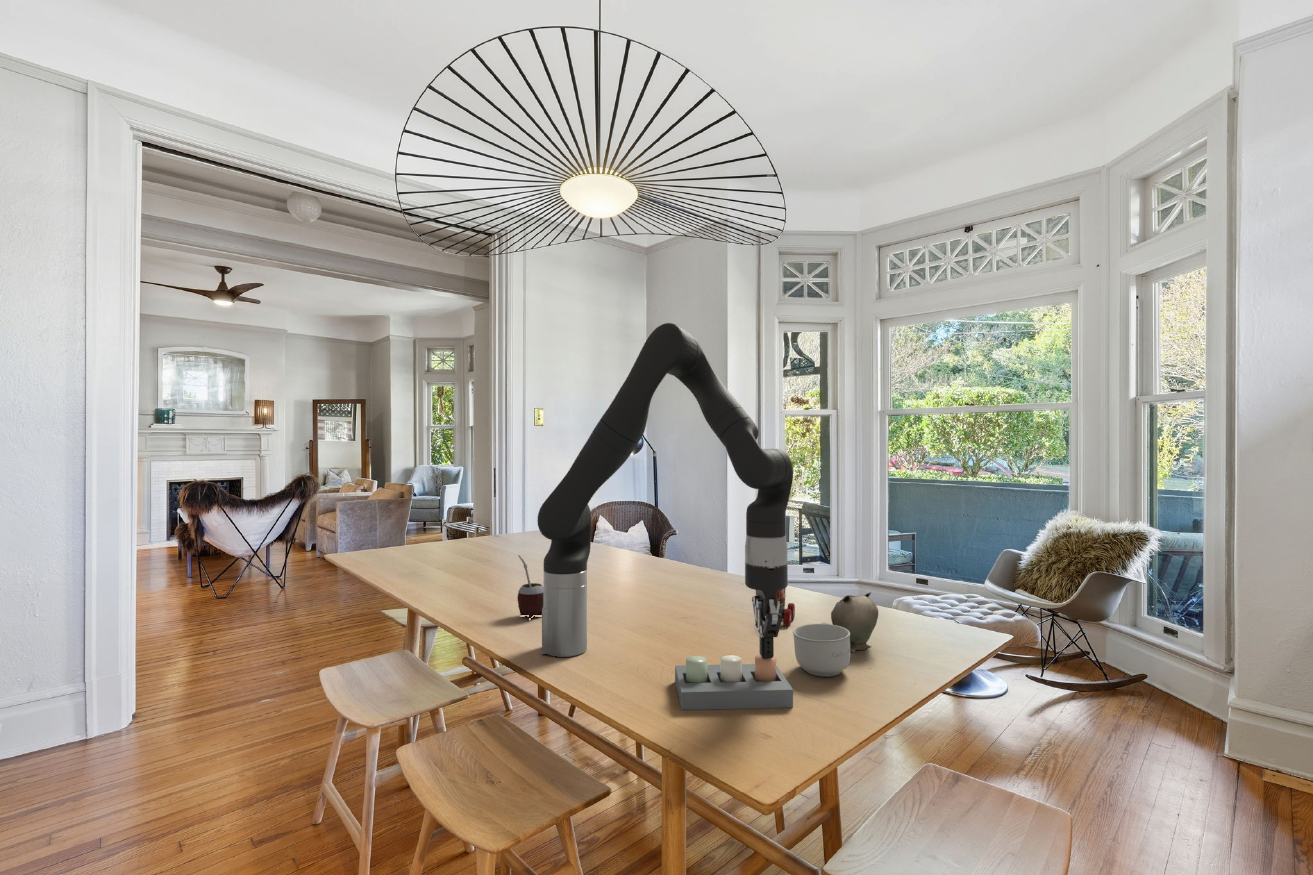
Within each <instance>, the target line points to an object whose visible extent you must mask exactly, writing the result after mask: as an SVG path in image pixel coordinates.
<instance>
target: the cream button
mask: <svg viewBox="0 0 1313 875" xmlns="http://www.w3.org/2000/svg"><path fill="white" fill-rule="evenodd" d="M719 662H720V664H719V665H720V682H742V664H743V659H742V658H741V657H740V656H738V655H731V654H730V655H723V656H721V657H720V661H719Z"/></svg>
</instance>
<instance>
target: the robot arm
mask: <svg viewBox="0 0 1313 875" xmlns="http://www.w3.org/2000/svg"><path fill="white" fill-rule="evenodd" d="M667 374H668V375H670V376H674V377H675V378H676V379H678V380H679V382H681V383H682V384H683V385H684V386H685V387H686V388H687V389H688V390H689V392H691V394H692V395H693V397H694V398H695V399H696V401H697V404H698V405H699V408H700V411H701V413H702V415H703V418H704V420H705V421H706V423H707V425H708V426H709V428H710V429H711V431H712V432H713V433H714V434H715V436H716V437H717V438H718V440H719V441H720V442H721V443H722V445H723V446H724V447H725V449H726V453H727V455H728V459H729V460H730V462H731V465H732V467H733V470H734V472H735V474H736V475H737V477H738V478H739V479H740V481H741V482H742V483H743V484H745V485H746V486H747V487H749V488H750V489H753V490H757V491H758V492H757V494H756V495H757V496H756V499H755V500H753V501H752V502H751V503H750V504H749V505H747V507H746V513H745V518H746V519H745V520H746V521H745V531H746V532H745V535H746V536H745V542H744V543H745V544H744V584H745V586H746V587H747V588H749V589H751V590H754V591H755V595H753V596H752V597H751V601H752V608H753V614H754V621H755V625H754V626H755V627H756V629H757V633H758V637H759V655H761V657H762V658H764V659H766V658H773V656H774V655H775V654H774V653H775V652H774V650H775V649H774V645H775V644H774V638H778V636H779V632H780V630H781V629H780V628H781V625H782V622H783V619H782V614H781V613H778V610H779V609H780V601H779V599H777V591H779V590H783V589H785V590H786V588H787V587H788V583H789V582H788V580H789V579H788V578H789V577H788V576H789V575H788V571H789V570H788V569H789V568H788V561H789V560H788V558H789V556H788V542H787V522H786V521H787V516H786V515H787V513H786V511H787V507H788V504H789V501H790V497H791V491H792V487H793V481H794V468H793V463H792V459H791V458H790V456H789V455H788V454H787V453H786V452H785V451H784V450H782V449H779V448H762V447H761V445H760V444H759V443H758V441H757V440H758V438H759V436H760V433H759V428H758V426H757V425H756V423H755V422H754V420H753V419H752V418H751V416H750V415H749V414H748V413H747V412H746V410H745V409H744V408H743V406H742V405H741V404H740V403H739V402H738V401H737V400H736V398H735V397H734V396H733V395H732V394H731V392H730V391H729V390H728V388H727V387H726V385H725V384H724V383H723V382H722V380H721V379H720V378H719V376H718V374H717V373H716V372H715V370H714V368H713V366H712V364H711V363H710V361H709V359H708V357H707V355H706V353H705V351H704V350H703V347H702V346H701V344H700V342H699V340H698V339H697V338H696V337H695V336H694V335H692V334H691V333H690V332H688V331H686V330H685V329H684V328H682V327H680V326H679V325H678V324H675V323H672V322H666V323H663V324H660V325H659V326H657V327H656V328H654V330H653V331H652V332H651V333H650V334H649V336H648V337H647V339H646V341H645V342H644V343H643V346H642V347H641V349H640V351H639V354H638V356H637V357H636V359H635V362H634V364H633V365H632V367H631V369H630V371H629V374H628V376H627V377H626V378H625V380H624V382H623V383H622V385H621V386H620V389H619V390H618V391H617V393H616V395H615V396H614V398H613V400H612V401H611V403H610V404H609V406H608V408H607V409H606V410H605V412H604V413H603V415H602V416H601V418H600V419H599V420H598V422H597V423H596V425H595V426H594V428H593V430H592V432H591V433H590V435H589V437H588V438H587V440H586V442H585V443H584V445H583V447H582V448H581V449H580V451H579V452H578V455H577V456H576V457H575V459H574V461H573V463H572V464H571V466H570V468H569V470H568V471H567V473H566V474H565V476H564V477H563V478H562V479H561V480H560V482H558V484H557V486H556V487H555V488H554V490H552V492H550V494H549V495H548V497H546V499H545V500H544V502H543V503H542V505H541V507H540V508H539V510H538V513H537V520H536V521H537V526H538V530H539V532H540V533H541V535H542V536H543V537H545V538H546V539H548V540H551V541H550V546H549V549H548V551H547V553H546V554H545V556H544V558H543V587H544V607H543V609H542V618H541V655H542V654H549V655H548V656H550V655H551V657H555V656H557V658H566V657H567V658H568V657H575V656H578V655H581V654H583V653H585V652H586V651H587V650H586V649H588V561H589V560H588V559H589V557H590V553H591V545H592V544H591V540H592V513H591V509H590V506H589V503H590V501H591V499H592V498H593V497H594V495H595V494H596V493H597V491H598V490H599V489H600V488H601V487H602V486H603V485H604V484H605V483H606V482H607V481H608V480H609V479H610V478H611V477H613V475H615V473H616V472H617V471H618V470H619V469H621V467H622V466H623V465H624V464H625V463H626V462H627V460H628V459H629V457H630V456H631V455H632V453H633V452H634V450H635V449H636V446H637V445H638V444H639V442H640V441H641V439H642V438H643V436H644V433H645V430H646V427H647V424H648V423H647V422H648V418H649V411H650V405H651V402H652V399H653V396H654V394H655V392H656V390H657V389H658V387H659V386H660V384H661V382H662V381H663V379H665V377H666V375H667ZM774 657H775V656H774Z"/></svg>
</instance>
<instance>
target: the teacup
mask: <svg viewBox="0 0 1313 875" xmlns="http://www.w3.org/2000/svg"><path fill="white" fill-rule="evenodd" d="M792 634H793V645H794V654H795V659H796V662H797V664H798V665H799V666H800V668H802V669H803V670H805V672H807V673H808V674H809V675H813V676H816V677H824V678H825V677H834V676H837V675H840V674H841V673H842V671H844V670H846V669H847V667H848V666H849V664H850V660H851V652H850V632H849V630H847V629H846V628H843V627H841V626H837V625H833V624H830V623H829V622H828V621H822V622H821V623H809V624H803V625H799V626H797V627H795V628H793V630H792Z"/></svg>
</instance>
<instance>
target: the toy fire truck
mask: <svg viewBox="0 0 1313 875" xmlns="http://www.w3.org/2000/svg"><path fill="white" fill-rule="evenodd" d="M786 597H787V596H786V588H785V589H783V590H779V591H777V599H779V601H780V609H779V610H778V613H781V614H782V622H783V625H784V626H786V627H790V626H791V624H792V621H793V620H795V615H796V605H795V603H794V602H789V603H787V607H786Z"/></svg>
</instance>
